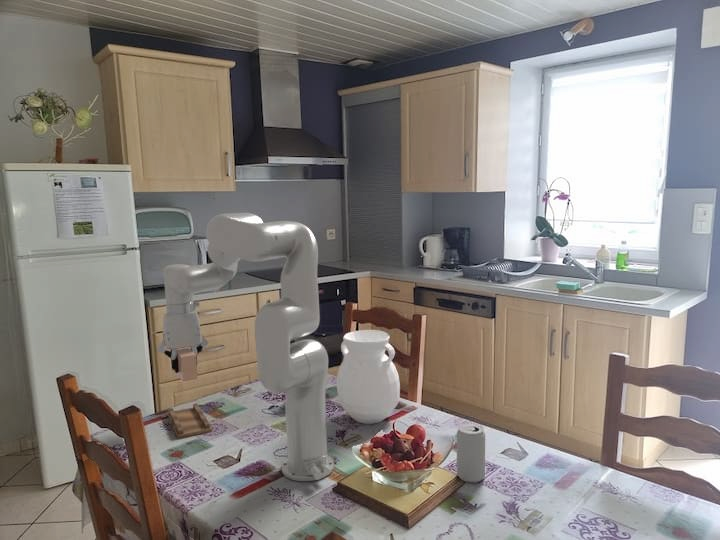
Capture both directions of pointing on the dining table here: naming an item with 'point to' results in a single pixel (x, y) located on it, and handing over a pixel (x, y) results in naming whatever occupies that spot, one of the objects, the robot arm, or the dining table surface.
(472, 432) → the beverage can
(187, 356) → the block
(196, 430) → the rack
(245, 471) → the dining table surface
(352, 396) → the white vase
